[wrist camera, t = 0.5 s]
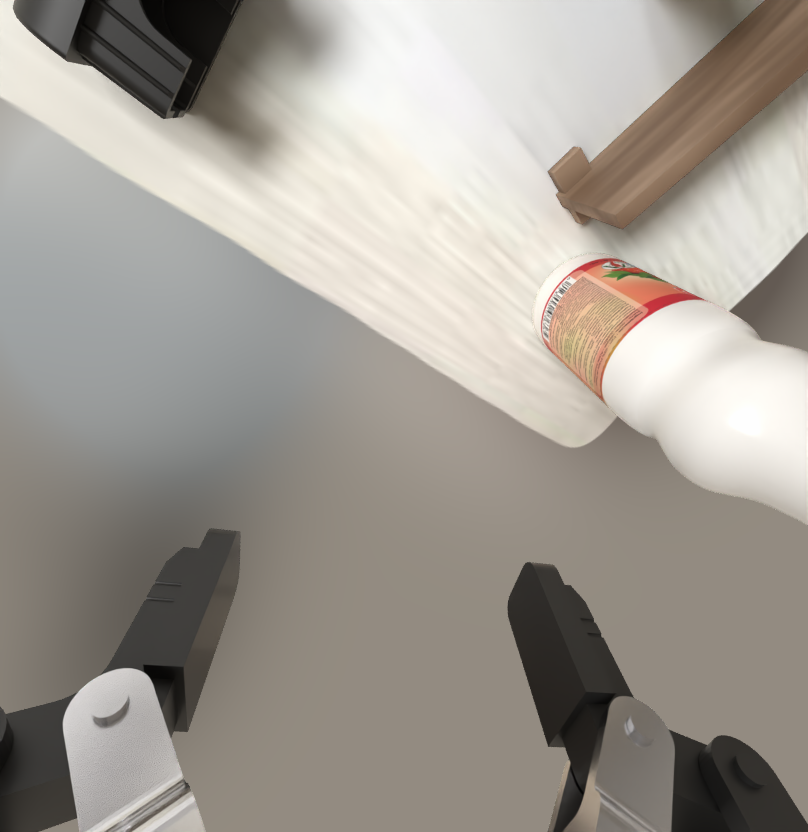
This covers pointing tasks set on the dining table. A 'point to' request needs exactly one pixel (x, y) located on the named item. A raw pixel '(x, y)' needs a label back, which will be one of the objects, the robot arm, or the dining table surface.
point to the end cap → (137, 42)
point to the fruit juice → (684, 377)
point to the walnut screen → (689, 118)
